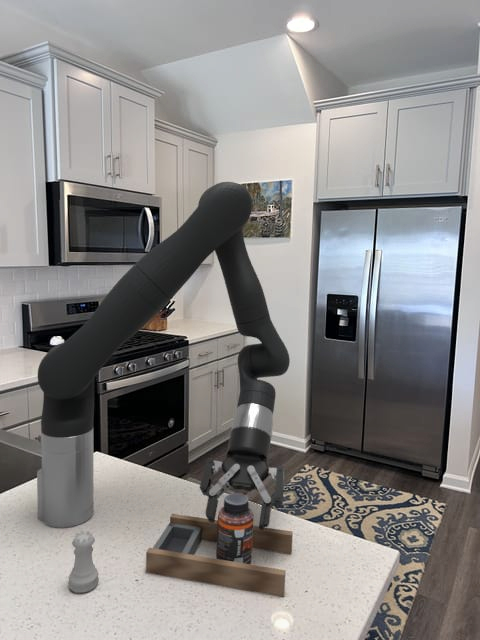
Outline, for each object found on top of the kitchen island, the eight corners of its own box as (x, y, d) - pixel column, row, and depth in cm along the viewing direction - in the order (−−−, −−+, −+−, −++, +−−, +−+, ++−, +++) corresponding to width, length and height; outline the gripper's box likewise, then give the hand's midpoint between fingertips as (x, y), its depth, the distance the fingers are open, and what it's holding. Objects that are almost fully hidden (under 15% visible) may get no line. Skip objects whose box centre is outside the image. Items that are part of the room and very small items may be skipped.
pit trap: (149, 567, 77) (149, 552, 77) (169, 535, 86) (169, 522, 86) (184, 573, 76) (185, 558, 76) (201, 540, 85) (201, 527, 85)
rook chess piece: (81, 598, 70) (81, 547, 69) (61, 587, 72) (61, 537, 71) (105, 582, 73) (105, 533, 72) (85, 571, 76) (85, 523, 75)
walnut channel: (145, 572, 76) (146, 552, 75) (172, 531, 87) (172, 513, 87) (283, 596, 71) (284, 575, 71) (291, 550, 83) (292, 531, 83)
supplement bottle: (248, 577, 76) (250, 510, 74) (211, 571, 77) (213, 505, 75) (254, 555, 81) (257, 492, 80) (220, 549, 83) (222, 487, 81)
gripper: (210, 421, 87) (189, 512, 77) (288, 429, 84) (277, 524, 74) (217, 438, 93) (198, 525, 83) (290, 446, 90) (280, 537, 80)
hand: (236, 525), depth 78 cm, fingers open, 8 cm apart
